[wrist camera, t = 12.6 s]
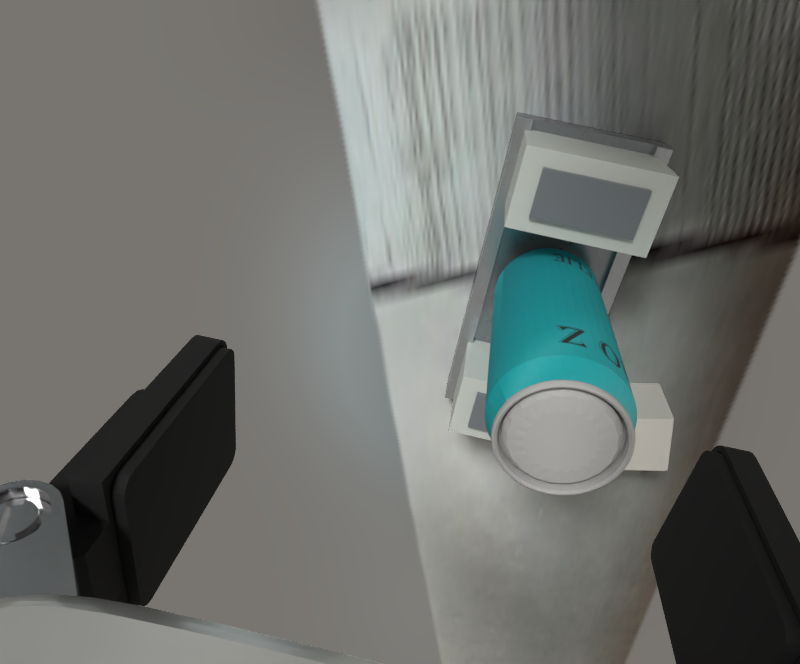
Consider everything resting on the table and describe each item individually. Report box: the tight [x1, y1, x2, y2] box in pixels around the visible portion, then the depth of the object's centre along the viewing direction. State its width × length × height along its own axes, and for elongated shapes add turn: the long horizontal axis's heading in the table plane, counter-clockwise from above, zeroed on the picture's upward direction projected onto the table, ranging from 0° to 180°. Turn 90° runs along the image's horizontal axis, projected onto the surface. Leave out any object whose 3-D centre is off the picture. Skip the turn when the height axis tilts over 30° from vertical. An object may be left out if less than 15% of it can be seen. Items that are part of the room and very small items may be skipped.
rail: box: [445, 112, 673, 399], centre depth 35 cm, size 18×8×2 cm, turn 170°
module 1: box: [449, 339, 491, 441], centre depth 36 cm, size 4×7×5 cm, turn 80°
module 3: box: [624, 383, 674, 471], centre depth 38 cm, size 4×5×4 cm
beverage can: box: [485, 248, 637, 495], centre depth 28 cm, size 6×6×15 cm
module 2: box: [504, 130, 679, 258], centre depth 29 cm, size 4×7×5 cm, turn 80°
